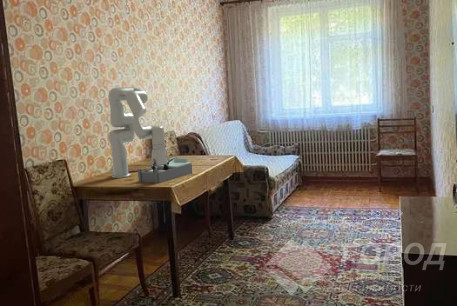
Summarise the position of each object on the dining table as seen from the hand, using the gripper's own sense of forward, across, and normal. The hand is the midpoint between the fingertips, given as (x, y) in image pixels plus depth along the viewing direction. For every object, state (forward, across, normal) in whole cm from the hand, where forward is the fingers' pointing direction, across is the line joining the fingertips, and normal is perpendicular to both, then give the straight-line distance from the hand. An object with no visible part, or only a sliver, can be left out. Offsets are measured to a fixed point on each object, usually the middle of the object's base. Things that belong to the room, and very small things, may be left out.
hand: (160, 174), depth 265 cm
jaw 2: (+3, 0, 0) cm, 3 cm away
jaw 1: (+3, 0, -6) cm, 7 cm away
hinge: (+5, -36, -19) cm, 41 cm away
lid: (-3, -16, -3) cm, 17 cm away
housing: (+4, -8, -3) cm, 9 cm away
